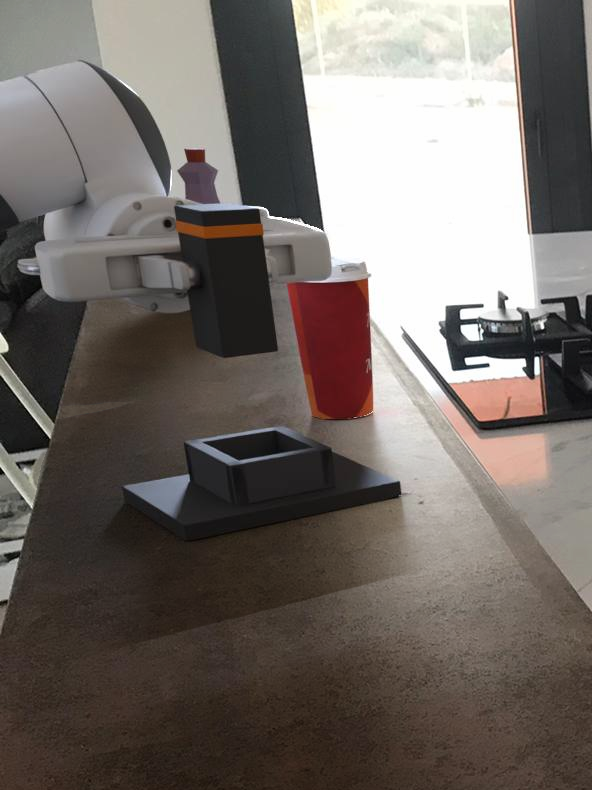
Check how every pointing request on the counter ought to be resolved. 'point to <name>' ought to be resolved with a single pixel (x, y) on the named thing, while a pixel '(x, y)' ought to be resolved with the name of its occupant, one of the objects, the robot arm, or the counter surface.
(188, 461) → the base pad
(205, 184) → the flask
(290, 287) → the paper cup
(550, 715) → the counter surface
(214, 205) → the black block
